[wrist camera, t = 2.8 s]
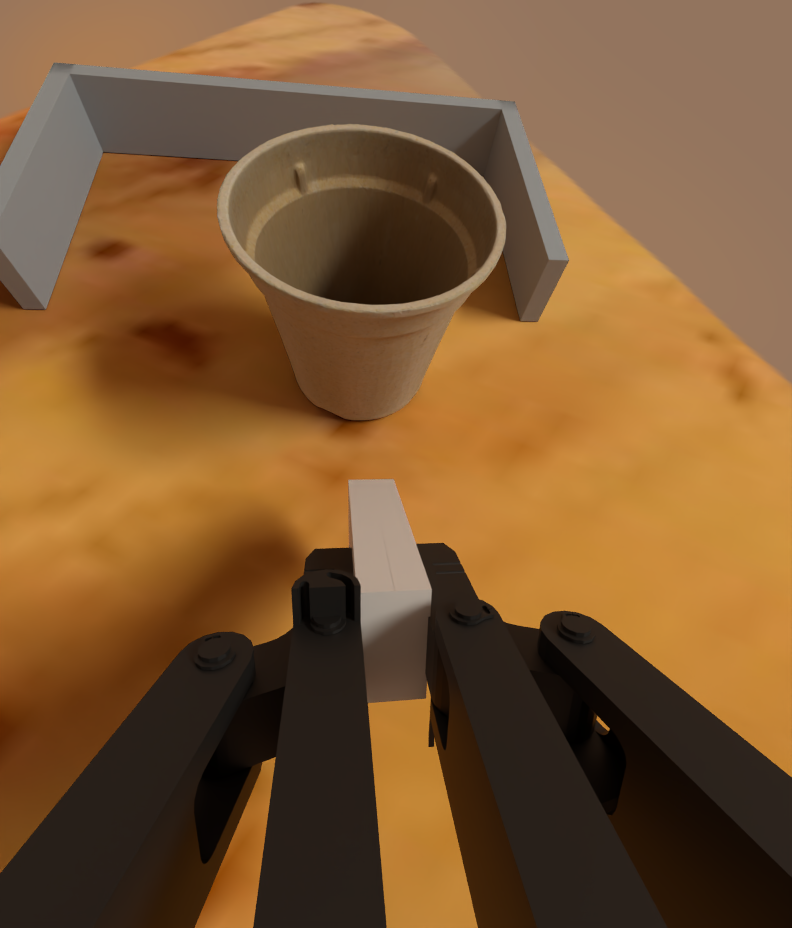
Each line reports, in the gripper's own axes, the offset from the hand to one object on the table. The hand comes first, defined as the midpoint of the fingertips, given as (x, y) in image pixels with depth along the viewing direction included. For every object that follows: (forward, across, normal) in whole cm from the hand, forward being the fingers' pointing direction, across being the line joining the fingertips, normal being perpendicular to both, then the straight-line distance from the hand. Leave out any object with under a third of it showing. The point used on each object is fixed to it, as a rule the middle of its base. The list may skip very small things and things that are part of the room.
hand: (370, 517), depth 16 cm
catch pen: (+16, -3, +11) cm, 20 cm away
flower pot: (+9, 0, +4) cm, 10 cm away
